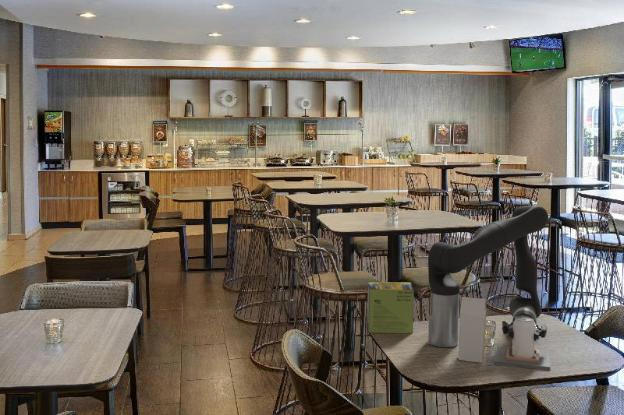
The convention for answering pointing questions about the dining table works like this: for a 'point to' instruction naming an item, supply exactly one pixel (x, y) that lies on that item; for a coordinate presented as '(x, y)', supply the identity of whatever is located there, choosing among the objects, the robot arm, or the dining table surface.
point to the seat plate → (537, 362)
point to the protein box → (390, 307)
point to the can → (523, 337)
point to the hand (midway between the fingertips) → (523, 336)
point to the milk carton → (472, 329)
